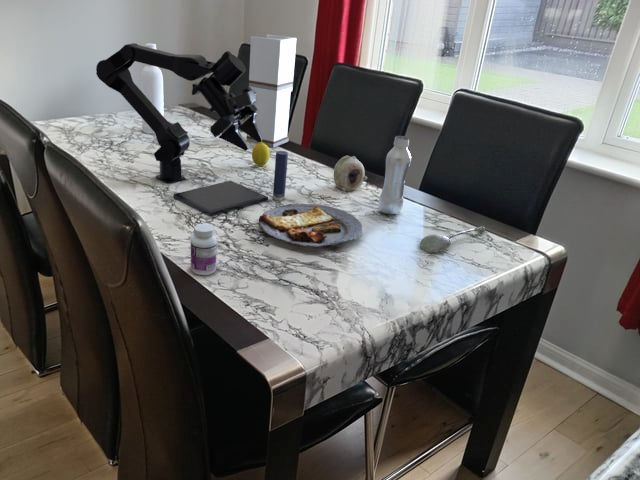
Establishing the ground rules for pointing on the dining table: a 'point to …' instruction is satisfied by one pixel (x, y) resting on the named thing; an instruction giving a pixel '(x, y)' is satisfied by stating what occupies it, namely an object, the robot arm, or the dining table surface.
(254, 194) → the tablet
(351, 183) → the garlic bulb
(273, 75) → the white tower box
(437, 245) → the soupspoon
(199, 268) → the pill bottle
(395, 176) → the plastic bottle
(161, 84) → the bottle
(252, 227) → the dining table surface
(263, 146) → the lemon
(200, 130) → the dining table surface
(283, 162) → the dark blue cylinder
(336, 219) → the food plate
